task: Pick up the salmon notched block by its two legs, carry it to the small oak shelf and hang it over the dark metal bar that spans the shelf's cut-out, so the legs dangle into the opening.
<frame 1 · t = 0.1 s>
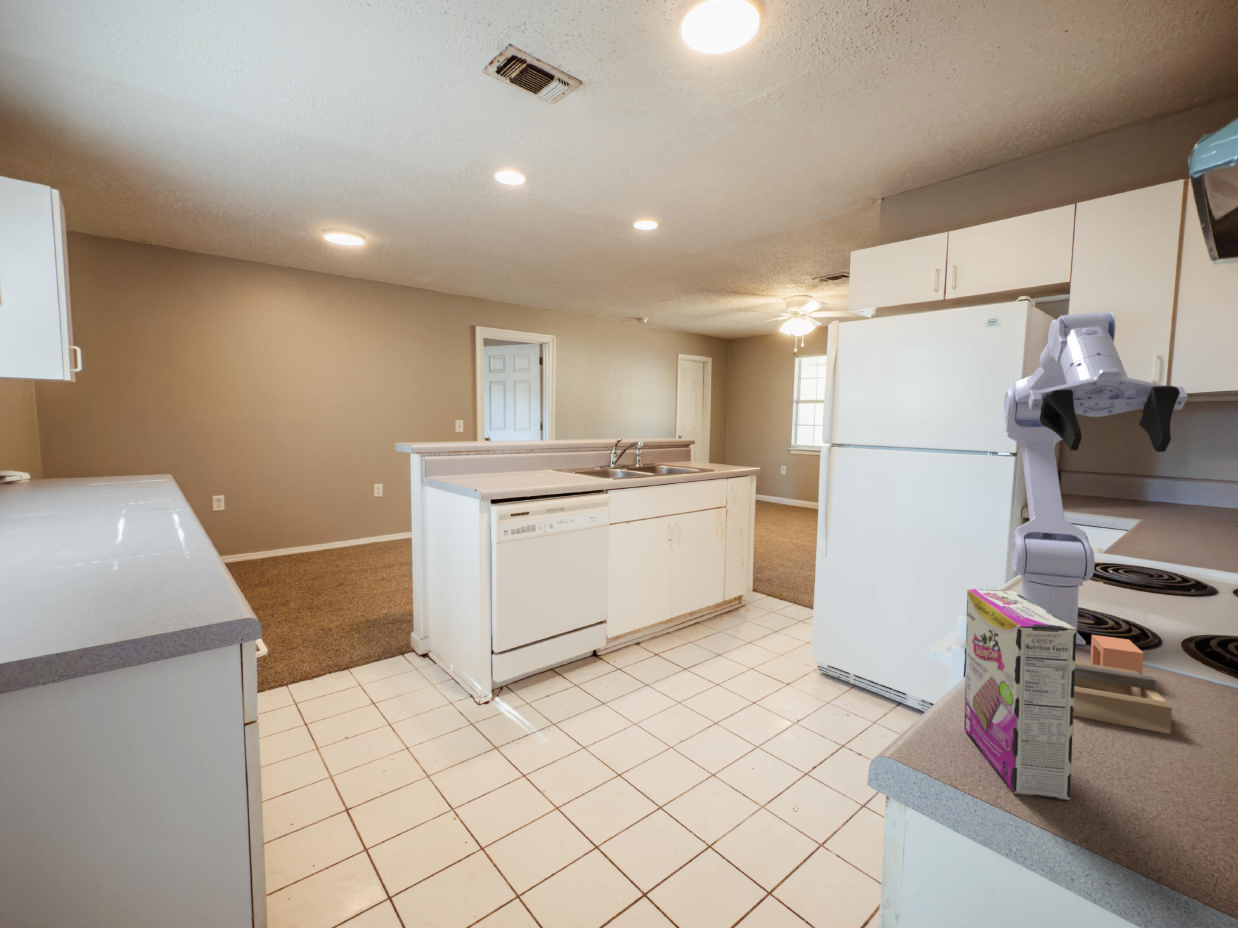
hand: (1118, 444, 61), 32 cm above the countertop, tool tilted 50°, fingers open, 7 cm apart
candy bar box: (1010, 764, 54), on the countertop
salmon notched block: (1114, 675, 73), on the countertop
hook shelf: (1102, 703, 66), on the countertop
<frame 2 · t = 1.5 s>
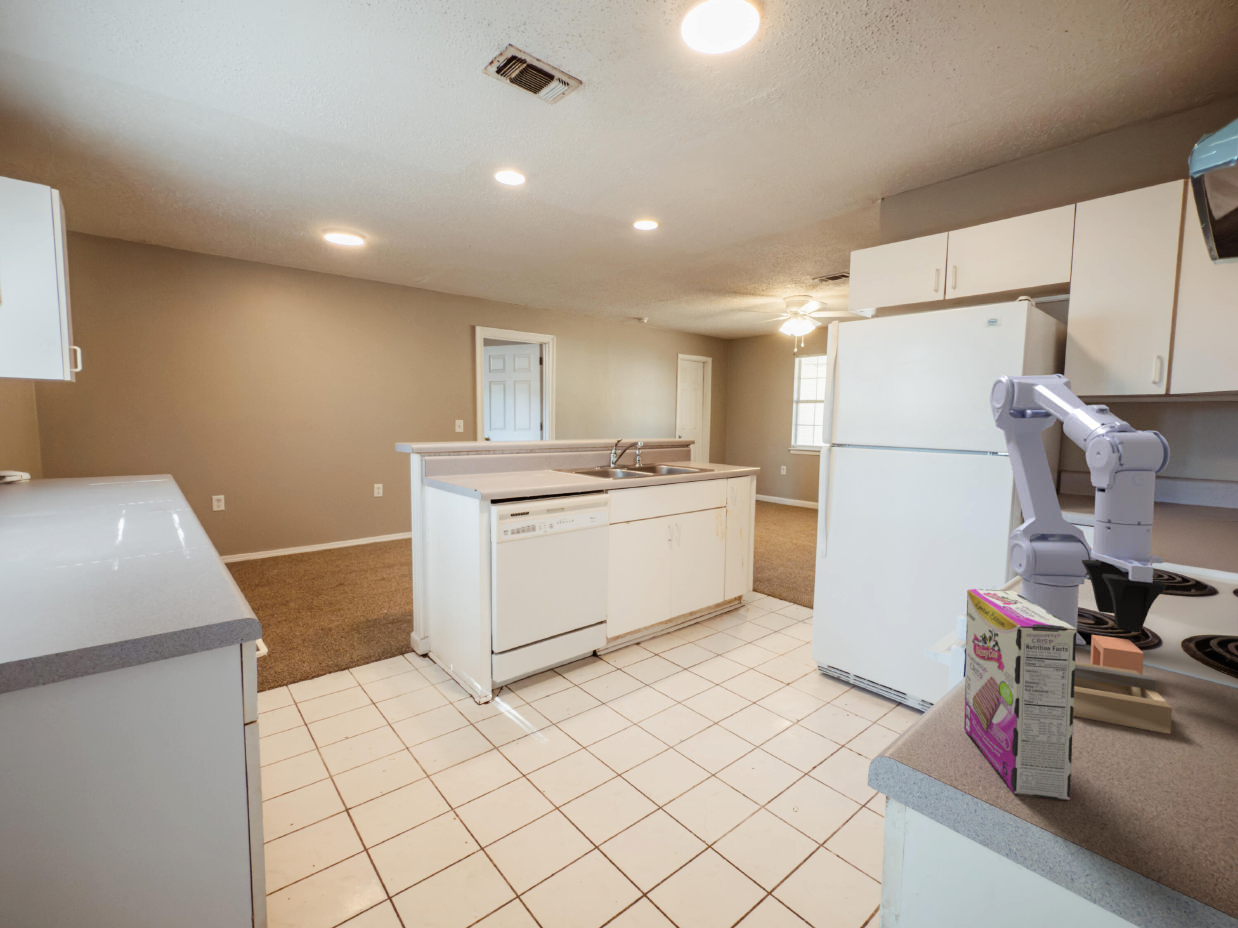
hand: (1117, 620, 73), 8 cm above the countertop, tool pointing down, fingers open, 7 cm apart
nothing on the countertop moved.
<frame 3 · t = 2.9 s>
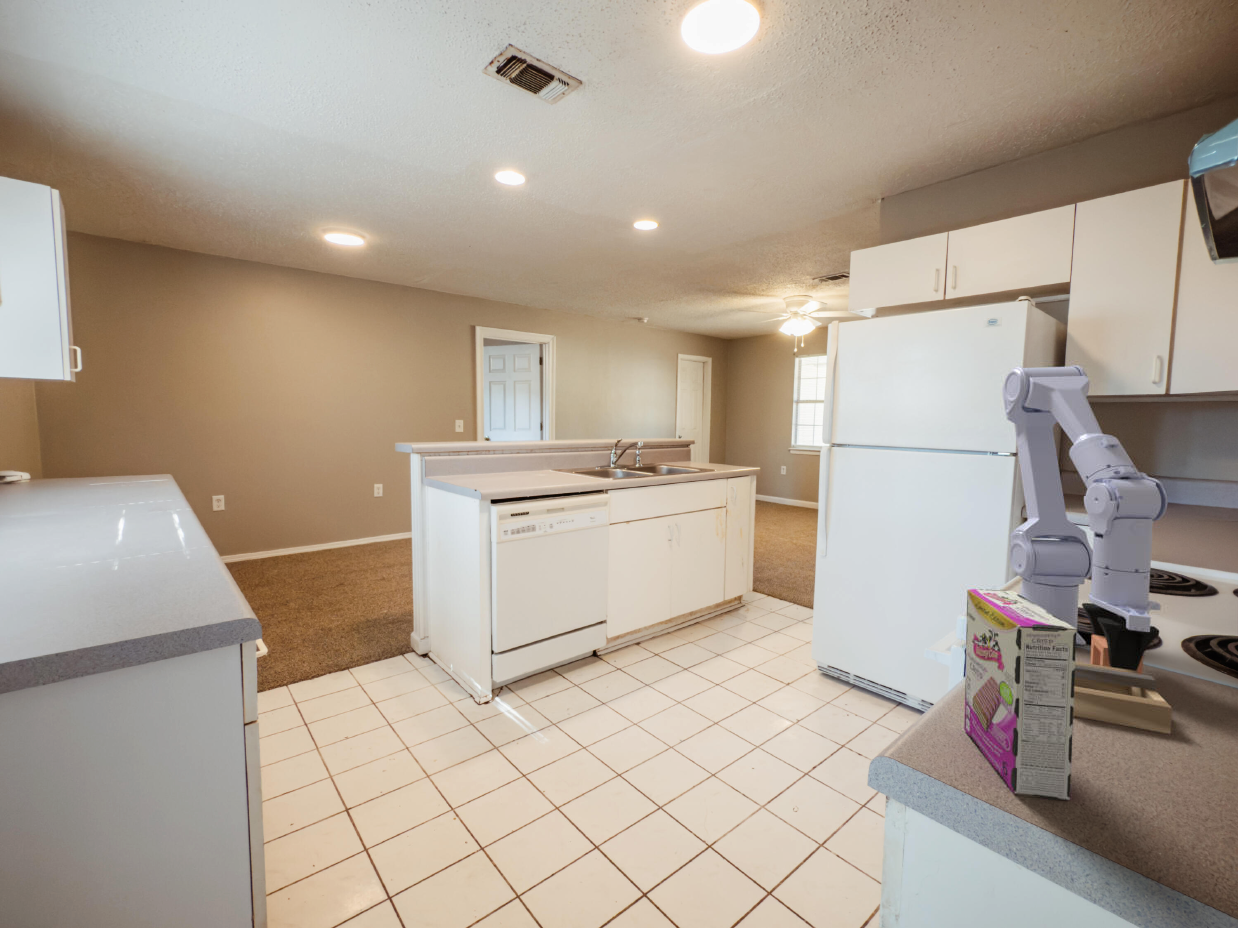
hand: (1115, 665, 73), 1 cm above the countertop, tool pointing down, fingers closed on salmon notched block, 5 cm apart
salmon notched block: (1114, 675, 73), on the countertop, touching gripper
everything else where it was.
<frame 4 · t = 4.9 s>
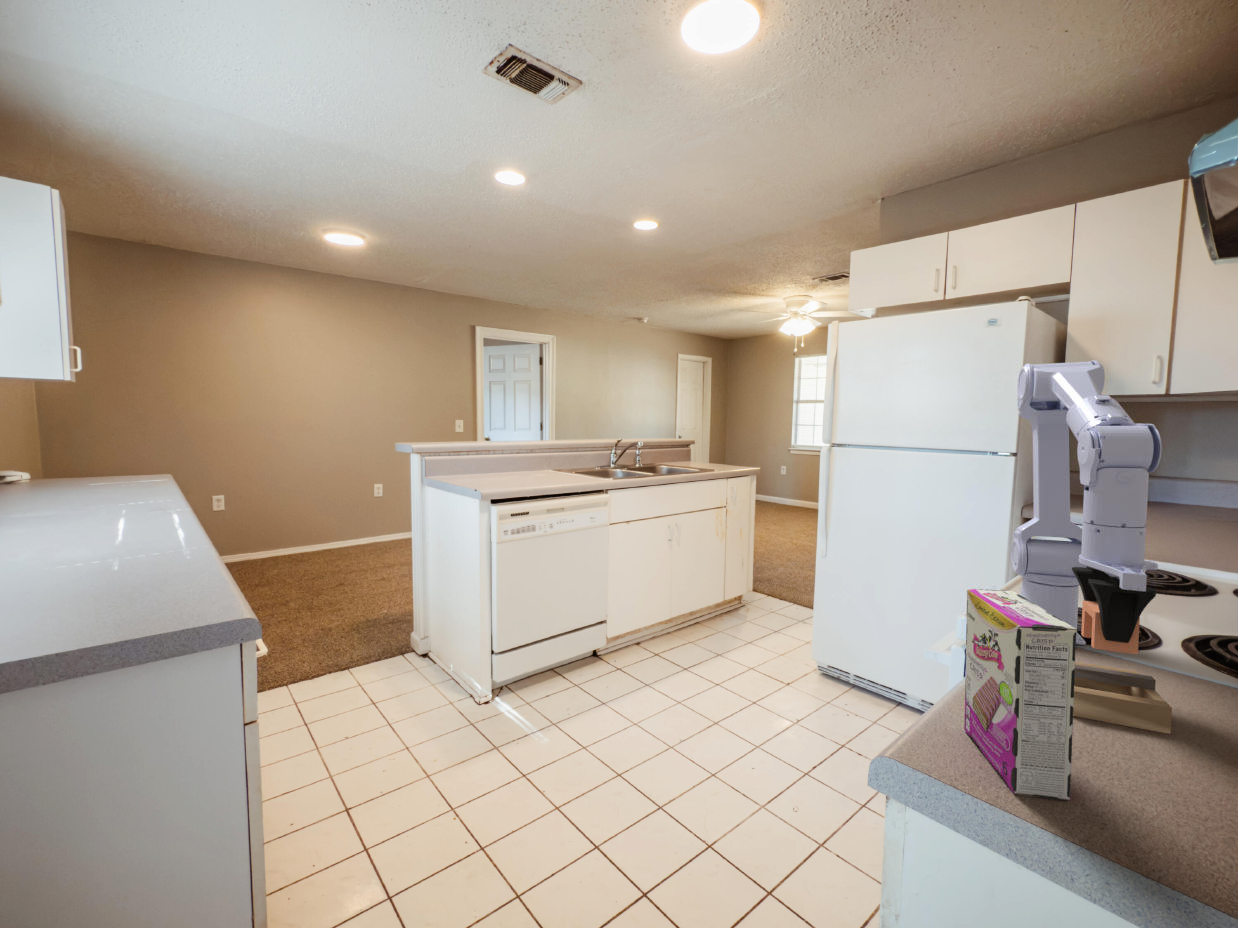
hand: (1108, 632, 66), 9 cm above the countertop, tool pointing down, fingers closed on salmon notched block, 5 cm apart
salmon notched block: (1108, 643, 66), point 7 cm above the countertop, touching gripper
everything else where it was.
when the fingers open (4 cm above the countertop, at t = 6.9 s): salmon notched block drops 1 cm, resting on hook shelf.
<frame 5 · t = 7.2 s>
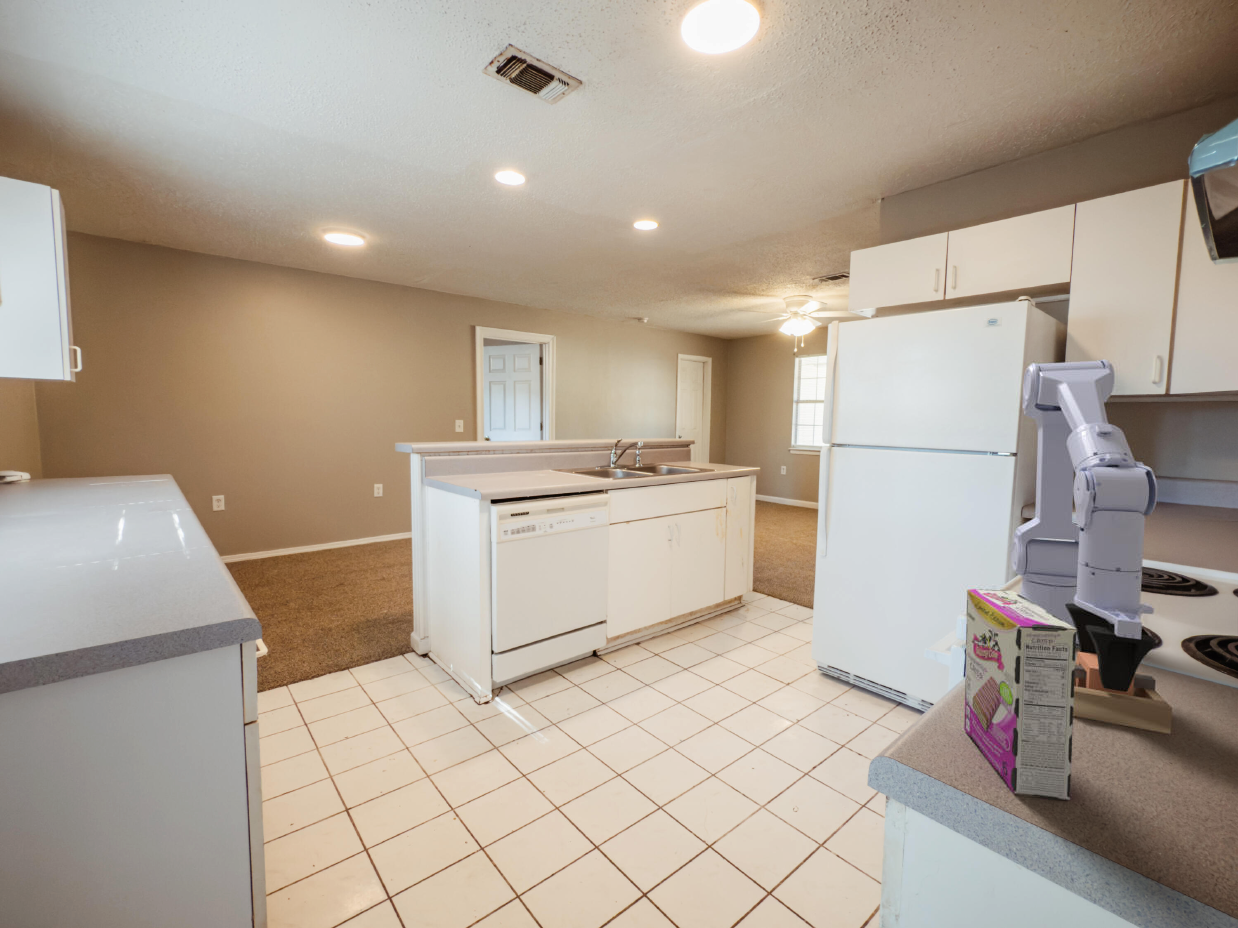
hand: (1103, 675, 65), 4 cm above the countertop, tool pointing down, fingers open, 7 cm apart
salmon notched block: (1102, 697, 66), point 1 cm above the countertop, touching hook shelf
everything else where it was.
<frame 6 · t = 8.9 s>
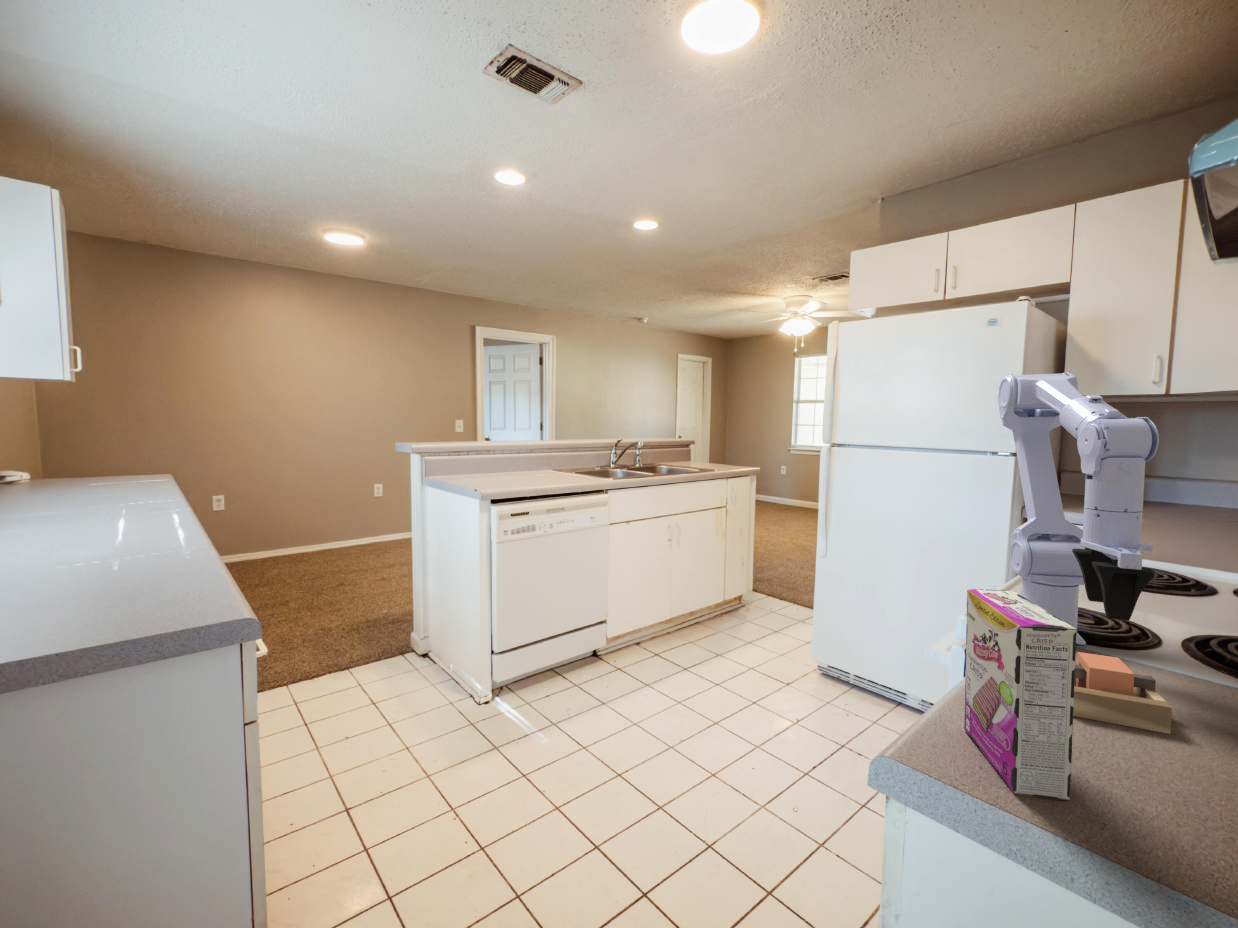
hand: (1107, 609, 72), 9 cm above the countertop, tool pointing down, fingers open, 7 cm apart
nothing on the countertop moved.
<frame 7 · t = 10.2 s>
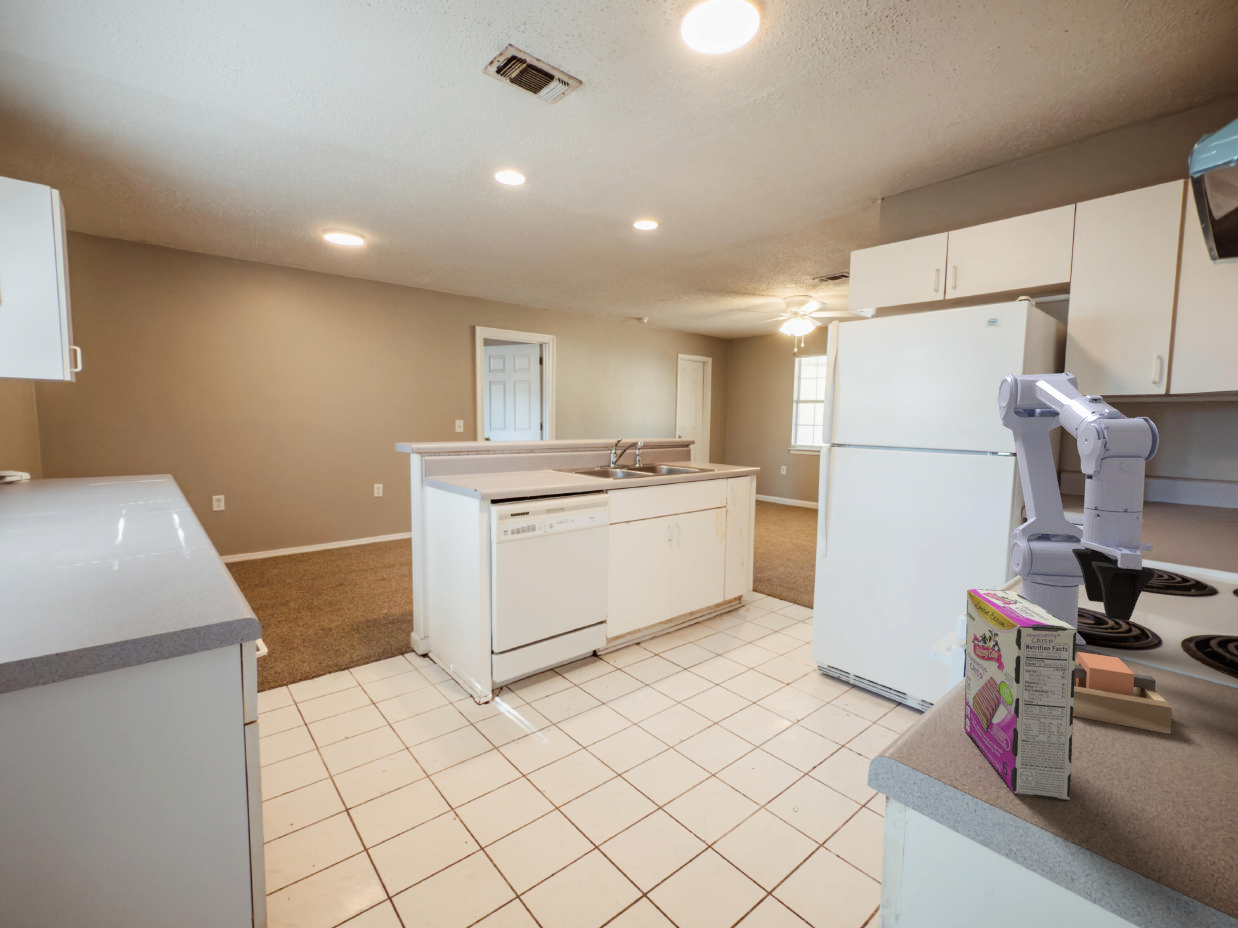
hand: (1107, 609, 72), 9 cm above the countertop, tool pointing down, fingers open, 7 cm apart
nothing on the countertop moved.
at the end: salmon notched block 0.1 cm off-centre on the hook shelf, point 0.7 cm above the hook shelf's base; salmon notched block touching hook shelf; the gripper is holding nothing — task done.
